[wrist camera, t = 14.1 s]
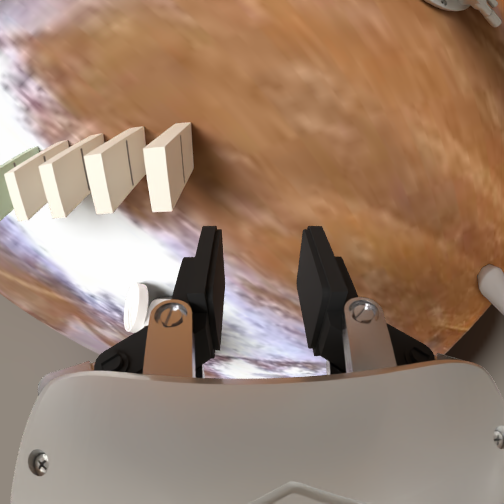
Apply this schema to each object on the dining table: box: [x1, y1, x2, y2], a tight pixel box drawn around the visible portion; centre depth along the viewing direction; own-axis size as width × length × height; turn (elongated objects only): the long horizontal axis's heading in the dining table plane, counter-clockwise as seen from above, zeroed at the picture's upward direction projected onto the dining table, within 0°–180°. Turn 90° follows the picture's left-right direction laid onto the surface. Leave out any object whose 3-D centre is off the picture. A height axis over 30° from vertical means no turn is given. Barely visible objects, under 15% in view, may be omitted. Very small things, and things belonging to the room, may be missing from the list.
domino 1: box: [4, 140, 69, 221], centre depth 23 cm, size 2×5×10 cm, turn 0°
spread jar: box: [124, 282, 172, 333], centre depth 36 cm, size 12×11×12 cm
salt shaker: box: [477, 264, 504, 315], centre depth 33 cm, size 6×6×13 cm
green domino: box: [0, 146, 39, 221], centre depth 23 cm, size 2×5×10 cm, turn 0°
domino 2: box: [39, 133, 104, 219], centre depth 23 cm, size 2×5×10 cm, turn 0°
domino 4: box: [143, 122, 194, 212], centre depth 23 cm, size 2×5×10 cm, turn 179°
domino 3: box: [84, 126, 146, 214], centre depth 23 cm, size 2×5×10 cm, turn 0°
